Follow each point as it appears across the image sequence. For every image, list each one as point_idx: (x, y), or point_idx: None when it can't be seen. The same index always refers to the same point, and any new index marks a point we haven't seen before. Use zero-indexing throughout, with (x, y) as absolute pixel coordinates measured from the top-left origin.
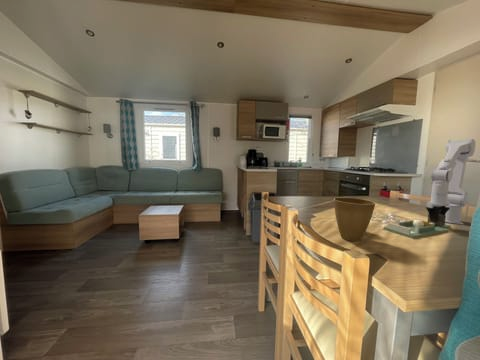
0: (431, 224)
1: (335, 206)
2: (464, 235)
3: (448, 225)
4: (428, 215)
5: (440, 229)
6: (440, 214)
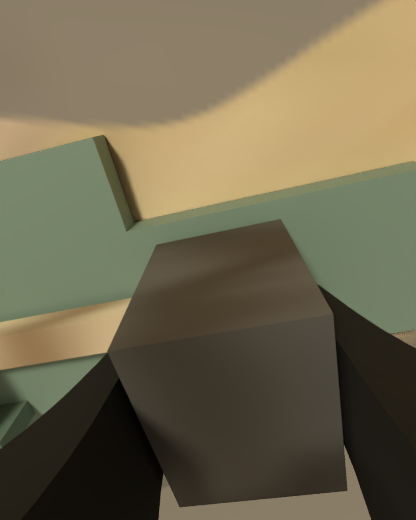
0: (95, 348)
1: None
2: None
3: (387, 323)
4: (123, 323)
5: None
6: (323, 439)
